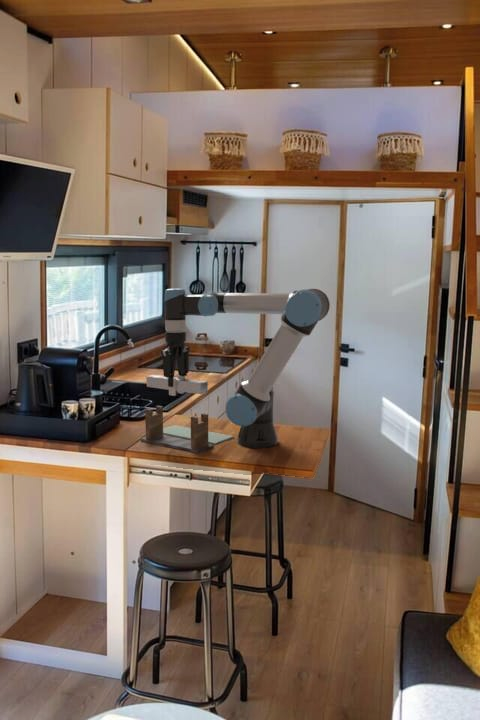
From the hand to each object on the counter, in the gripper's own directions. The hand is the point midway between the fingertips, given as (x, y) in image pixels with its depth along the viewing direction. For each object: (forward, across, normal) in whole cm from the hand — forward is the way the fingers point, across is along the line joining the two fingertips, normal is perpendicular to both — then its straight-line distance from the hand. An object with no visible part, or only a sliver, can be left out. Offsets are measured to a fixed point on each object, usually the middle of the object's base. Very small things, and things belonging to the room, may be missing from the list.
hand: (176, 394), depth 256 cm
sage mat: (+19, -14, -3) cm, 24 cm away
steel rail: (-2, 0, 0) cm, 2 cm away
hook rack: (+19, 0, 0) cm, 19 cm away
